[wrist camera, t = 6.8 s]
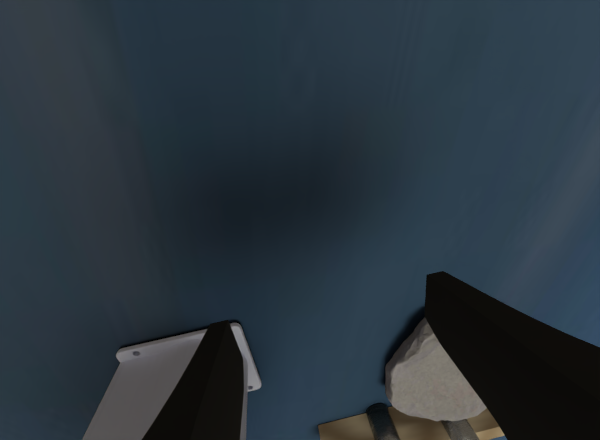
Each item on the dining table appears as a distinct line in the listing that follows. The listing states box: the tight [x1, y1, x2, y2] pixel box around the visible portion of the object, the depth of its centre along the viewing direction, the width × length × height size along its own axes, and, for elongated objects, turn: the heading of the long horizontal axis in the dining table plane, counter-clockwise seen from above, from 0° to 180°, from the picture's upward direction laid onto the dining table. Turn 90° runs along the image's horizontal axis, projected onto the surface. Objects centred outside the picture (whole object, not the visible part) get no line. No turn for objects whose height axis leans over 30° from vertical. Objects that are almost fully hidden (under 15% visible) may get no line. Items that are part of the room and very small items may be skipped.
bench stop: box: [318, 403, 504, 440], centre depth 28 cm, size 20×3×5 cm, turn 99°
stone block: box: [385, 317, 487, 421], centre depth 26 cm, size 12×5×10 cm
